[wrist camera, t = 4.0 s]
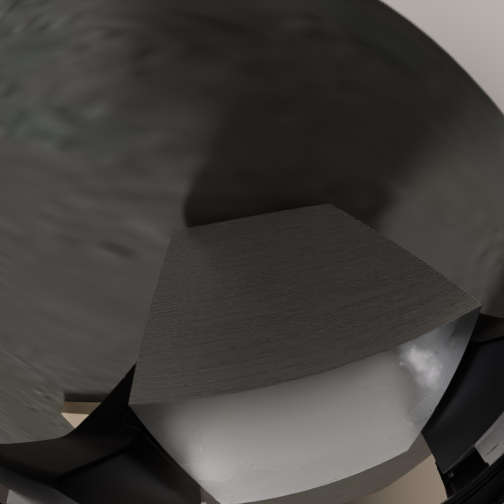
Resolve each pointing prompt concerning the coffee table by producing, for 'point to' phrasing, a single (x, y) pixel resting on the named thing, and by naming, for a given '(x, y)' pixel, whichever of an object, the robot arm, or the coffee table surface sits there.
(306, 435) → the grey block
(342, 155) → the coffee table surface
